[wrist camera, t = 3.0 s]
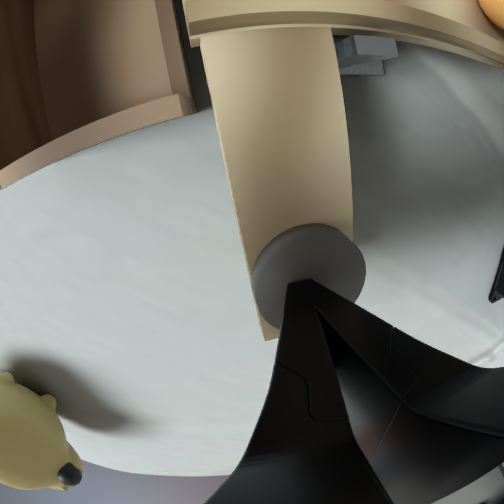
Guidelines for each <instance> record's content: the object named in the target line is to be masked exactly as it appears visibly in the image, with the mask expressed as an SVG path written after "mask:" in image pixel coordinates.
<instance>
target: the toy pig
mask: <svg viewBox="0 0 504 504" xmlns="http://www.w3.org/2000/svg"><path fill="white" fill-rule="evenodd" d="M56 405H57V402H56V399H55V397H54V396H52V395H50V394H45V395H43V396H39V395H37V394H36V393H34V392H33V391H31V390H29V389H28V388H26V387H24V386H22V385H20V384H17V383H14V378H13V376H12V374H11V373H9V372H6V371H4V372H2V373H0V482H1V483H3V484H5V485H7V486H10V487H13V488H17V489H22V490H37V489H42V488H46V487H49V488H52V489H58V490H63V491H67V488H69V487H71V486H75V485H77V484H79V483H80V481H81V479H82V472H83V467H82V462H81V459H80V457H79V455H78V454H77V452H76V451H75V450H74V448H73V447H72V446H71V445H70V444H69V443H68V441H67V440H66V436H65V432H64V429H63V426H62V423H61V421H60V419H59V417H58V416H57V414H56V412H55V409H56Z"/></svg>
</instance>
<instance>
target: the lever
mask: <svg viewBox="0 0 504 504" xmlns="http://www.w3.org/2000/svg"><path fill="white" fill-rule="evenodd" d="M182 3H183V9H184V14H185V19H186V24H187V29H188V34H189V39H190V44H191V48H193V47H198V46H200V48H201V53H202V58H203V63H204V68H205V73H206V78H207V83H208V88H209V92H210V97H211V102H212V107H213V112H214V116H215V121H216V126H217V131H218V135H219V140H220V145H221V150H222V154H223V159H224V164H225V168H226V173H227V178H228V182H229V187H230V192H231V196H232V201H233V206H234V210H235V215H236V219H237V224H238V229H239V233H240V238H241V242H242V247H243V251H244V256H245V260H246V265H247V270H248V274H249V279H250V283H251V287H252V292H253V296H254V301H255V305H256V310H257V314H258V319H259V323H260V327H261V330H262V333H263V336H264V339H265V341H267V340H271V339H275V338H279V333H280V327H281V321H282V315H283V308H284V302H285V295H286V289H287V284H288V283H292V282H296V281H300V280H304V279H308V278H311V279H313V280H315V281H316V282H318V283H320V284H322V285H323V286H325V287H327V288H329V289H330V290H332V291H334V292H335V293H337V294H339V295H341V296H342V297H344V298H346V299H348V300H349V301H351V302H353V303H355V301H356V300H357V298H358V297H359V295H360V293H361V291H362V288H363V285H364V281H365V276H366V266H365V261H364V258H363V255H362V253H361V252H360V250H359V249H358V248H357V246H356V245H355V244H354V243H353V202H352V182H351V166H350V154H349V142H348V132H347V123H346V115H345V107H344V100H343V93H342V86H341V79H340V73H339V68H338V62H337V56H336V51H335V46H334V41H333V36H332V35H348V36H352V35H362V36H374V37H384V38H392V39H395V41H402V42H408V43H413V44H418V45H423V46H428V47H432V48H437V49H441V50H445V51H448V52H452V53H456V54H459V55H463V56H466V57H469V58H472V59H475V60H478V61H481V62H484V63H487V64H490V65H492V66H495V67H498V68H500V69H504V30H502V29H501V28H499V27H498V26H497V25H495V24H494V23H493V22H492V21H491V20H490V19H489V18H488V17H487V15H486V14H485V13H484V11H483V10H482V8H481V7H480V5H479V3H478V0H182Z"/></svg>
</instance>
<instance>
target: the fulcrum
mask: <svg viewBox="0 0 504 504" xmlns="http://www.w3.org/2000/svg"><path fill="white" fill-rule="evenodd" d="M332 36H333V41H334V46H335V51H336V56H337V62H338V68H339V73H340V75H384V70H383V63H382V60H384V59H390V58H396V57H398V51H397V46H396V41H395V39H392V38H384V37H374V36H362V35H352V36H348V35H332Z"/></svg>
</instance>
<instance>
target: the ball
mask: <svg viewBox="0 0 504 504" xmlns="http://www.w3.org/2000/svg"><path fill="white" fill-rule="evenodd" d="M478 3H479V5H480V7H481V8H482V10H483V11H484V13H485V14H486V15H487V17H488V18H489V19H490V20H491V21H492V22H493V23H494V24H495V25H497V26H498V27H499V28H501V29H502V30H504V0H478Z"/></svg>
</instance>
